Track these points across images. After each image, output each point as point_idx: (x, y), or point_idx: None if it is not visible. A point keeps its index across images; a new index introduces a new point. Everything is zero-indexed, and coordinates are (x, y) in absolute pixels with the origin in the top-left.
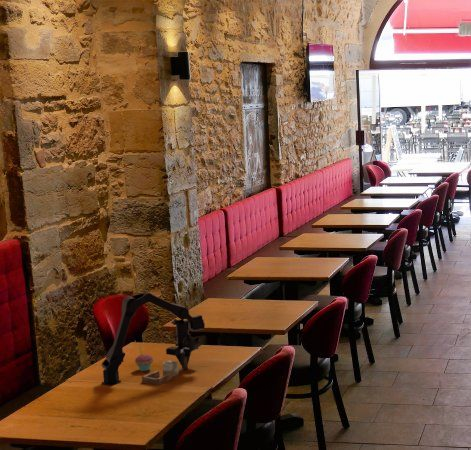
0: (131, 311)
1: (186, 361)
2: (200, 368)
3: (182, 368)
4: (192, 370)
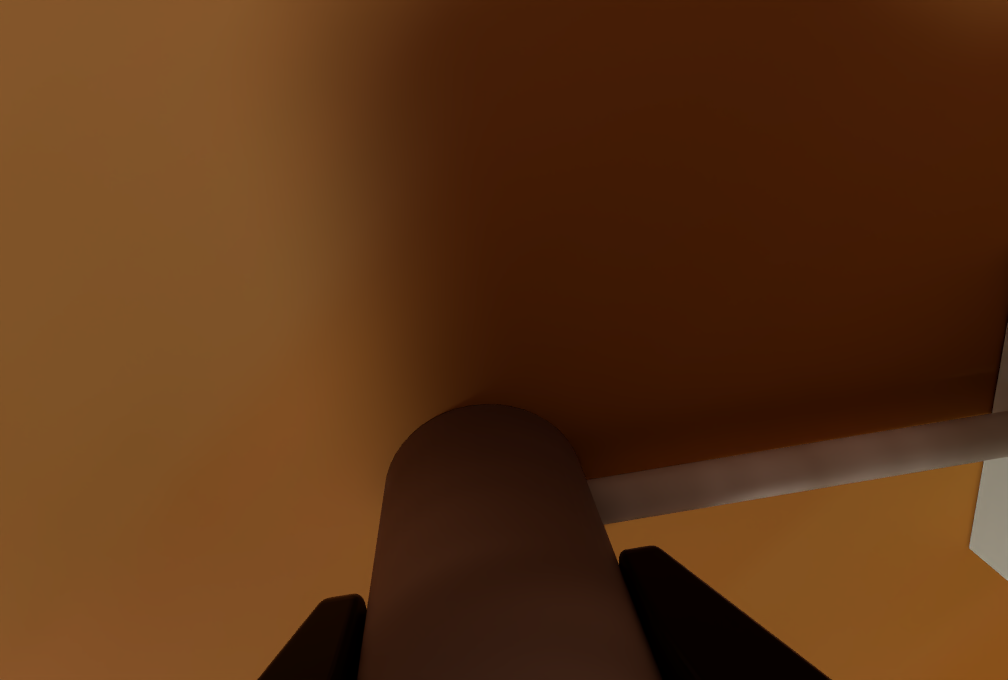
0: None
1: (513, 637)
2: (5, 82)
3: (627, 501)
4: (420, 166)
